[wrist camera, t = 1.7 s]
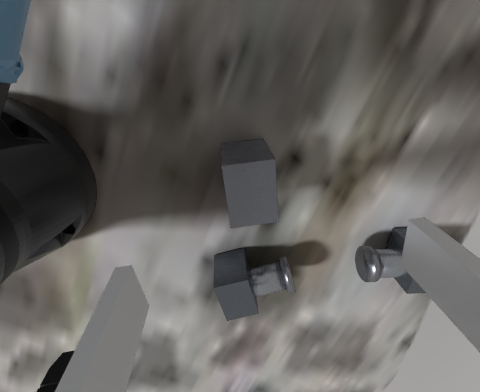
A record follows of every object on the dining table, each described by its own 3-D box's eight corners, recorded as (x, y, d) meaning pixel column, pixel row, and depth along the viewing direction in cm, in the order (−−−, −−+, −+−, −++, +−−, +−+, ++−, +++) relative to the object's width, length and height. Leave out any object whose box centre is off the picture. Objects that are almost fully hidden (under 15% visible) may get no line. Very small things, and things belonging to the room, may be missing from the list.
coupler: (267, 190, 27) (278, 221, 22) (228, 195, 27) (230, 228, 22) (263, 138, 25) (275, 159, 19) (221, 143, 25) (221, 166, 19)
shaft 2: (347, 263, 32) (367, 294, 28) (356, 228, 30) (380, 257, 26) (408, 261, 33) (437, 292, 29) (421, 227, 31) (455, 255, 26)
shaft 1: (226, 285, 33) (227, 320, 28) (214, 255, 31) (213, 288, 26) (287, 270, 32) (298, 304, 28) (280, 238, 30) (291, 269, 26)
